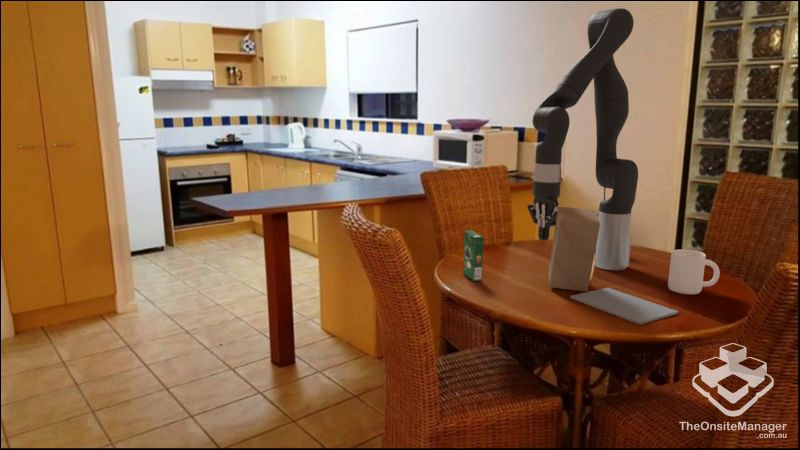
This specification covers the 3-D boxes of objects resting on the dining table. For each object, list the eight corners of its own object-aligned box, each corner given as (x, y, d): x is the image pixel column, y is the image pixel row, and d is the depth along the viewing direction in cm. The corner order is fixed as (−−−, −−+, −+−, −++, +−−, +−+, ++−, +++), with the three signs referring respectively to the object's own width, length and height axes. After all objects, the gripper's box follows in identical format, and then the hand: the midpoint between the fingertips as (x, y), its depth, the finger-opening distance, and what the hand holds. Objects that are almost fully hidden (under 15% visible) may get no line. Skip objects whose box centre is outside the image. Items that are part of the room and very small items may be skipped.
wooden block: (587, 292, 153) (600, 223, 145) (549, 287, 154) (560, 218, 147) (584, 276, 162) (596, 209, 154) (548, 271, 164) (558, 205, 156)
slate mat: (607, 289, 155) (607, 287, 155) (678, 313, 137) (678, 311, 137) (570, 298, 148) (570, 295, 148) (640, 324, 131) (640, 322, 130)
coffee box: (482, 281, 162) (484, 236, 160) (473, 282, 161) (474, 236, 159) (471, 273, 170) (473, 230, 167) (462, 274, 169) (463, 230, 166)
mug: (715, 289, 156) (720, 252, 154) (718, 298, 148) (723, 260, 146) (667, 283, 160) (671, 248, 158) (667, 292, 153) (671, 255, 151)
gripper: (574, 181, 157) (570, 243, 160) (540, 176, 168) (537, 233, 172) (554, 183, 153) (550, 246, 157) (520, 177, 165) (517, 236, 168)
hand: (543, 239), depth 164 cm, fingers closed
